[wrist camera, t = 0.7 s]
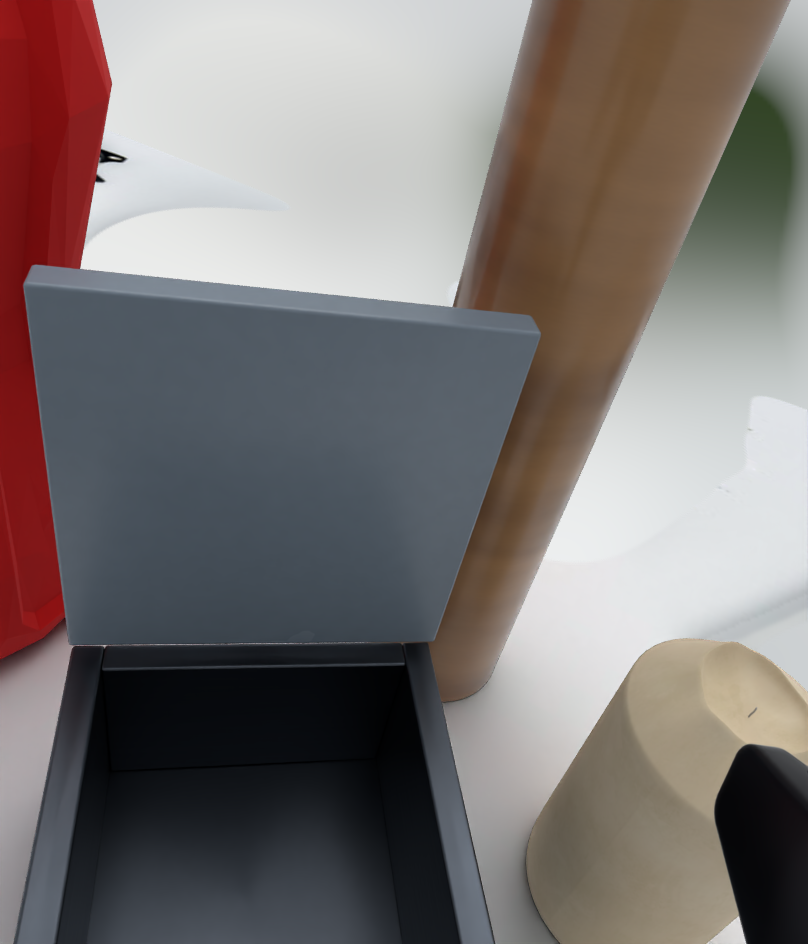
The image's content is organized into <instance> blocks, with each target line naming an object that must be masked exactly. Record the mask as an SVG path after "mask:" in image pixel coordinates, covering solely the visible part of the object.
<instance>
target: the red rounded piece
mask: <svg viewBox="0 0 808 944" xmlns="http://www.w3.org/2000/svg"><path fill="white" fill-rule="evenodd" d="M111 87H112V81H111V77H110V73H109V68H108V64H107V60H106V56H105V52H104V47H103V43H102V39H101V35H100V30H99V26H98V22H97V18H96V13H95V9H94V5H93V1H92V0H0V659H2V658H4V657H6V656H8V655H10V654H12V653H14V652H16V651H18V650H20V649H22V648H24V647H26V646H28V645H30V644H33V643H35V642H37V641H39V640H41V639H43V638H44V637H45V636H46V635H47V634H48V633H49V632H50V631H51V630H52V629H53V628H54V627H55V626H56V625H57V624H58V623H59V622H60V621H61V620H62V619H64V618H65V611H64V603H63V595H62V587H61V579H60V572H59V564H58V556H57V548H56V540H55V532H54V524H53V516H52V509H51V501H50V493H49V485H48V477H47V469H46V461H45V453H44V446H43V438H42V430H41V422H40V414H39V406H38V398H37V391H36V383H35V375H34V367H33V359H32V351H31V343H30V335H29V328H28V320H27V312H26V304H25V296H24V288H23V284H24V282H25V280H26V277H27V275H28V273H29V271H30V269H31V266H32V265H45V266H55V267H64V268H74V269H80V266H81V260H82V254H83V249H84V243H85V237H86V231H87V226H88V220H89V214H90V208H91V202H92V197H93V191H94V185H95V179H96V173H97V168H98V162H99V156H100V150H101V145H102V139H103V133H104V126H105V121H106V115H107V110H108V104H109V98H110V92H111Z"/></svg>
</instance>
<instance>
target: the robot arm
mask: <svg viewBox="0 0 808 944" xmlns="http://www.w3.org/2000/svg"><path fill="white" fill-rule="evenodd" d="M714 819H715V825H716V829H717V833H718V836H719V840H720V844H721V848H722V852H723V856H724V859H725V863H726V867H727V871H728V875H729V879H730V883H731V886H732V890H733V894H734V898H735V902H736V906H737V910H738V913H739V917H740V921H741V925H742V929H743V933H744V936H745V940H746V944H808V766H807V765H805V764H804V763H803V762H801V761H800V760H798V759H797V758H796V757H794V756H793V755H792V754H790V753H789V752H787V751H786V750H784V749H782V748H779V747H773V746H765V745H758V744H746V745H744V746H742V747H741V748H740V749H739V750H738V752H737V753H736V755H735V758H734V760H733V762H732V764H731V766H730V768H729V771H728V773H727V775H726V777H725V779H724V781H723V784H722V786H721V788H720V790H719V792H718V794H717V797H716V800H715V805H714Z"/></svg>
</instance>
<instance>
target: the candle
mask: <svg viewBox="0 0 808 944" xmlns="http://www.w3.org/2000/svg"><path fill="white" fill-rule="evenodd" d="M746 744H758V745H765V746H773V747H779V748H782V749H784V750H786V751H787V752H789V753H790V754H792V755H793V756H794V757H796V758H797V759H798V760H800V761H801V762H803V763H804V764H805V765H807V766H808V692H807V691H806V690H805V689H804V688H803V687H802V686H801V685H800V684H799V683H798V682H797V681H796V680H795V679H794V678H792V677H791V676H790V675H789V674H787V673H786V672H785V671H784V670H782V669H781V668H780V667H778V666H777V665H775V664H774V663H773V662H772V661H770V660H769V659H768V658H766V657H765V656H763V655H761V654H760V653H758V652H756V651H753V650H751V649H749V648H747V647H746V646H744V645H742V644H740V643H738V642H720V641H712V640H704V639H688V638H686V639H675V640H670V641H665V642H663V643H660V644H657V645H655V646H653V647H652V648H650V649H648V650H647V651H646V652H644V653H643V654H642V655H641V656H640V657H639V658H638V660H637V661H636V662H635V664H634V665H633V667H632V668H631V670H630V671H629V673H628V674H627V676H626V678H625V679H624V681H623V682H622V684H621V685H620V687H619V689H618V690H617V692H616V693H615V695H614V697H613V698H612V700H611V701H610V703H609V705H608V706H607V708H606V709H605V711H604V712H603V714H602V716H601V717H600V719H599V720H598V722H597V724H596V725H595V727H594V728H593V730H592V732H591V733H590V735H589V736H588V738H587V740H586V741H585V743H584V744H583V746H582V747H581V749H580V751H579V752H578V754H577V755H576V757H575V759H574V760H573V762H572V763H571V765H570V767H569V768H568V770H567V771H566V773H565V774H564V776H563V778H562V779H561V781H560V782H559V784H558V786H557V787H556V789H555V790H554V792H553V794H552V795H551V797H550V798H549V800H548V802H547V803H546V805H545V806H544V808H543V810H542V812H541V813H540V815H539V817H538V818H537V820H536V822H535V824H534V827H533V829H532V832H531V835H530V839H529V842H528V848H527V856H526V868H527V878H528V882H529V887H530V891H531V894H532V897H533V900H534V903H535V905H536V907H537V909H538V911H539V914H540V915H541V917H542V919H543V921H544V922H545V924H546V926H547V927H548V928H549V930H550V931H551V933H552V934H553V935H554V937H555V938H556V939H557V940H558V941H559V942H560V943H561V944H706V943H708V942H709V941H710V940H711V939H712V938H713V937H715V936H716V935H717V934H718V933H719V932H720V931H722V930H723V929H724V928H725V927H726V926H727V925H729V924H730V923H731V922H732V921H733V920H734V919H736V918H737V917H738V916H739V913H738V910H737V906H736V902H735V898H734V894H733V890H732V886H731V883H730V879H729V875H728V871H727V867H726V863H725V859H724V856H723V852H722V848H721V844H720V840H719V836H718V833H717V829H716V825H715V819H714V805H715V800H716V797H717V794H718V792H719V790H720V788H721V786H722V784H723V781H724V779H725V777H726V775H727V773H728V771H729V768H730V766H731V764H732V762H733V760H734V758H735V755H736V753H737V752H738V750H739V749H740V748H741V747H742V746H744V745H746Z"/></svg>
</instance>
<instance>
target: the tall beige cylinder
mask: <svg viewBox="0 0 808 944" xmlns="http://www.w3.org/2000/svg"><path fill="white" fill-rule="evenodd" d="M789 2H790V0H532V4H531V8H530V12H529V16H528V20H527V24H526V27H525V31H524V35H523V39H522V43H521V47H520V50H519V54H518V58H517V62H516V66H515V70H514V73H513V77H512V81H511V85H510V89H509V93H508V96H507V100H506V105H505V108H504V112H503V116H502V119H501V123H500V127H499V131H498V135H497V139H496V143H495V146H494V150H493V154H492V158H491V162H490V166H489V170H488V173H487V177H486V181H485V185H484V189H483V193H482V196H481V200H480V204H479V208H478V212H477V216H476V220H475V223H474V227H473V232H472V235H471V239H470V242H469V246H468V250H467V254H466V258H465V262H464V266H463V269H462V273H461V277H460V281H459V285H458V288H457V292H456V296H455V300H454V304H453V307H455V308H465V309H475V310H484V311H494V312H504V313H514V314H523V315H530V316H531V317H532V318H533V320H534V321H535V323H536V325H537V327H538V329H539V330H540V332H541V337H540V340H539V342H538V345H537V348H536V351H535V354H534V357H533V360H532V363H531V365H530V368H529V371H528V374H527V377H526V380H525V383H524V385H523V388H522V391H521V394H520V397H519V400H518V403H517V405H516V408H515V411H514V414H513V417H512V420H511V423H510V425H509V428H508V431H507V434H506V437H505V440H504V443H503V445H502V448H501V451H500V454H499V457H498V460H497V463H496V466H495V468H494V471H493V474H492V477H491V480H490V483H489V486H488V488H487V491H486V494H485V497H484V500H483V503H482V506H481V508H480V511H479V514H478V517H477V520H476V523H475V526H474V528H473V531H472V534H471V537H470V540H469V543H468V546H467V548H466V551H465V554H464V557H463V560H462V563H461V566H460V569H459V571H458V574H457V577H456V580H455V583H454V586H453V589H452V591H451V594H450V597H449V600H448V603H447V606H446V609H445V611H444V614H443V617H442V620H441V623H440V626H439V629H438V631H437V634H436V637H435V640H434V641H432V642H426V643H428V645H429V649H430V653H431V658H432V662H433V667H434V671H435V676H436V680H437V685H438V689H439V694H440V698H441V702H447V701H455V700H460V699H463V698H466V697H468V696H470V695H472V694H474V693H476V692H477V691H478V690H480V689H481V688H482V687H483V686H484V685H485V684H486V683H487V681H488V680H489V678H490V677H491V675H492V672H493V670H494V668H495V666H496V663H497V661H498V659H499V657H500V654H501V652H502V650H503V648H504V645H505V643H506V641H507V638H508V636H509V634H510V632H511V629H512V627H513V625H514V623H515V620H516V618H517V616H518V614H519V611H520V609H521V607H522V605H523V602H524V600H525V598H526V596H527V593H528V591H529V589H530V587H531V584H532V582H533V580H534V578H535V575H536V573H537V571H538V569H539V566H540V564H541V562H542V560H543V557H544V555H545V553H546V551H547V548H548V546H549V544H550V542H551V539H552V537H553V535H554V532H555V530H556V528H557V526H558V523H559V521H560V519H561V516H562V515H563V512H564V510H565V508H566V505H567V503H568V501H569V499H570V496H571V494H572V492H573V490H574V487H575V485H576V483H577V481H578V478H579V476H580V474H581V471H582V469H583V467H584V465H585V463H586V460H587V458H588V456H589V454H590V451H591V449H592V447H593V445H594V442H595V440H596V438H597V436H598V433H599V431H600V429H601V427H602V424H603V422H604V420H605V418H606V415H607V413H608V411H609V409H610V406H611V404H612V402H613V400H614V397H615V395H616V393H617V390H618V388H619V386H620V384H621V381H622V379H623V377H624V375H625V372H626V370H627V368H628V366H629V363H630V361H631V359H632V357H633V354H634V352H635V350H636V348H637V345H638V343H639V341H640V338H641V336H642V334H643V332H644V330H645V327H646V325H647V323H648V321H649V318H650V316H651V314H652V312H653V309H654V307H655V305H656V303H657V300H658V298H659V296H660V294H661V291H662V289H663V287H664V284H665V282H666V280H667V278H668V275H669V273H670V271H671V269H672V266H673V264H674V262H675V260H676V257H677V255H678V253H679V251H680V248H681V246H682V244H683V242H684V239H685V237H686V235H687V233H688V230H689V228H690V226H691V224H692V221H693V219H694V217H695V214H696V212H697V210H698V208H699V206H700V203H701V201H702V199H703V197H704V194H705V192H706V190H707V187H708V185H709V183H710V181H711V179H712V176H713V174H714V172H715V170H716V167H717V165H718V163H719V161H720V158H721V156H722V154H723V152H724V149H725V147H726V145H727V142H728V140H729V138H730V136H731V134H732V131H733V129H734V127H735V124H736V122H737V120H738V118H739V115H740V113H741V111H742V108H743V106H744V104H745V102H746V100H747V97H748V95H749V93H750V90H751V88H752V86H753V84H754V82H755V79H756V77H757V75H758V73H759V70H760V68H761V66H762V64H763V61H764V59H765V57H766V55H767V52H768V50H769V48H770V46H771V43H772V41H773V39H774V36H775V34H776V32H777V30H778V28H779V25H780V23H781V21H782V18H783V16H784V14H785V12H786V9H787V7H788V5H789ZM368 643H401V644H403V643H417V642H368Z"/></svg>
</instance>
